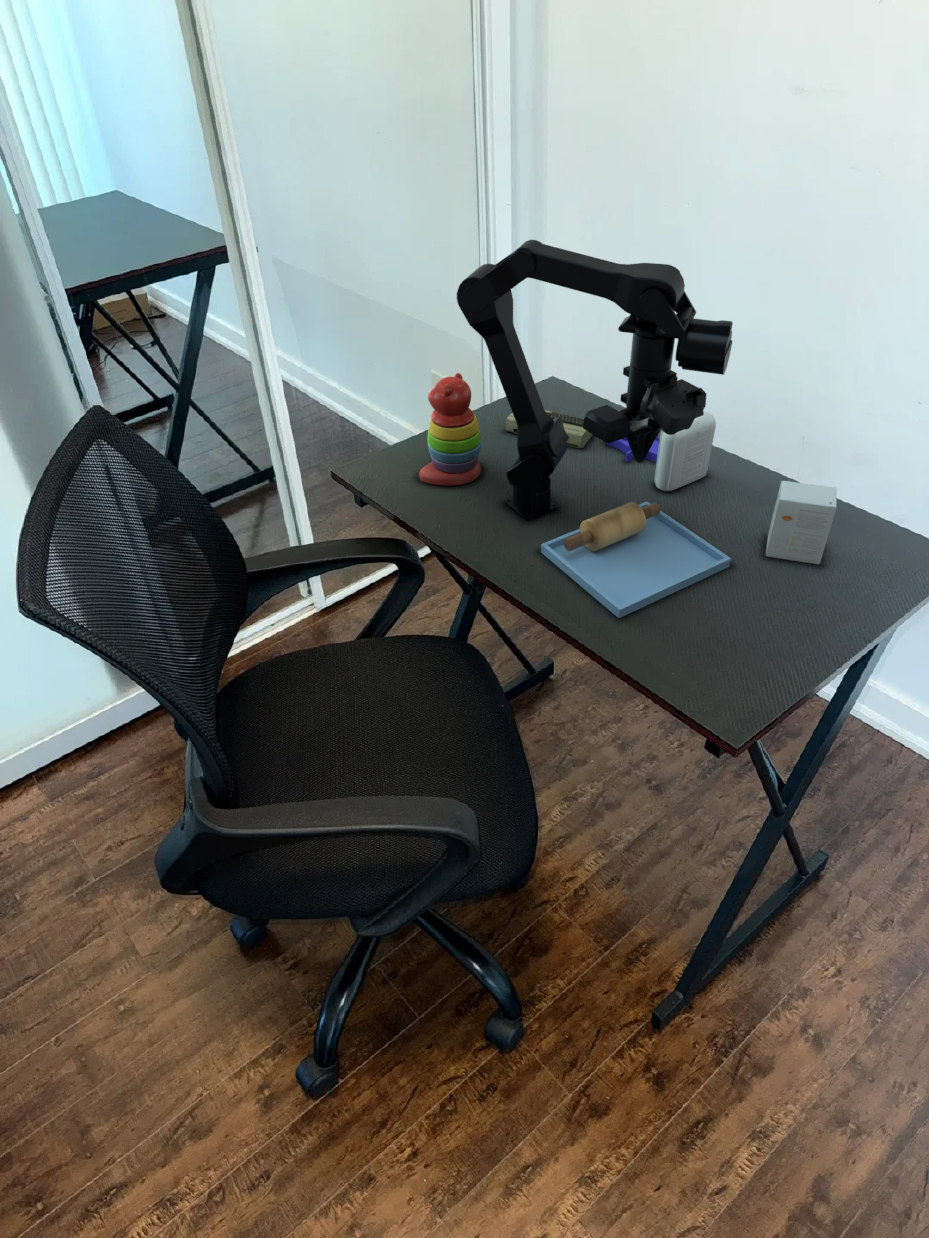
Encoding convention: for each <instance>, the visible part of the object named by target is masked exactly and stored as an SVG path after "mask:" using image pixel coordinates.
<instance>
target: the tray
mask: <svg viewBox="0 0 929 1238" xmlns="http://www.w3.org/2000/svg"><path fill="white" fill-rule="evenodd" d="M650 504H651V503H650V502H649V501H644V502H642V503H640V504H638V505H639V506H640V507H641V508H642V507H645V506H647V505H650ZM578 533H580V528H578V529H576V530H573V531H570V532H567V533H565V534H563V535H561V536H558V537H555V538H553V539H551V540H548V541H546V542H543V543H541V544H540V553H541V554H542V555H543V556H544V557H546V559H548V560H549V561H550V562H552V563H553V564H554V565H555V566H556V567H557V568H559V569H560V570H561V571H562V572H563V573H564V574H566V576H568V577H569V578H570V579H572V581H574V582H575V583H577V585H578V586H580V587H581V588H582V589H584V590H585V592H587V593H588V594H589V595H590V596H591V597H593V598H594V599H595V600H596V601H598V602H599V603H600V604H601V605H602V606H603V607H604V608H606V609H607V610H608V611H609V612H611V614H613V615H614V616H616V617H617V618H618V619H621V618H622V617H625V616H627V615H629V614H631V613H634V612H635V611H638V610H640V609H642V608H644V607H646V606H648V605H650V604H653V603H655V602H657V601H659V600H661V599H664V598H665V597H668V596H670V595H672V594H675V593H677V592H679V591H681V590H682V589H685V588H687V587H690V586H692V585H693V584H696V583H698V582H700V581H702V580H705V579H706V578H708V577H711V576H713V575H715V574H717V573H720V572H721V571H724V570H726V569H728V568H729V567H730V566H731V561H732V558H731V557H730V556H728V555H727V554H725V553H724V552H723V551H721V550H719V548H717V547H715V546H714V545H712V544H711V543H709V542H708V541H706V540H705V539H704V538H702V537H701V536H699V535H698V534H696V533H695V532H693V531H692V530H690V529H688V528H687V527H685V526H684V525H683V524H681V523H680V522H678V521H677V520H675V519H674V518H673V517H671V516H670V515H668V514H666V512H663V511H662V510H661V509H660V513H659V514H658V515H656V516H653V517H651V518H649V519H646V527H645V529H644V530H643V531H642V532H640V533H637V534H635V535H633V536H630V537H628V538H625V539H623V540H621V541H618V542H616V543H614V544H611V545H609V546H606V547H604V548H602V549H599V550H597V551H591V550H589V549H588V548H587V547H586V546H585V545H584V546H581V547H579V548H576V549H574V550H572V551H567V550H566V548H565V546H564V540H565V539H566V538H569V537H571V536H574V535H576V534H578Z"/></svg>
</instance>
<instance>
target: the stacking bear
mask: <svg viewBox="0 0 929 1238" xmlns="http://www.w3.org/2000/svg"><path fill="white" fill-rule="evenodd" d="M463 378H464V377H463V375H462V374H461V373H459V372H456V373H455V375H454V376H446V377H443V378H441V379H440V380H439V381H437V383H436V384H435V386H434V388H432V389H430V390H429V392H428V394H427V400H428V402H429V404H430V406H431V408H432V409H433V411H432V413H431V414H430V419H429V425H428V430H427V437H426V439H427V447H428V452H429V455H430V460H431V462H429V463H428V464H426V465H425V466H423V467H422V468H421V469H420V471H419V473H418V478H419V480H420V481H422V482H423V483H426V484H430V485H436V486H461V485H465V484H468V483H471V482H473V481H476V479H477V478H478V477H479V476H480V475H481V471H482V467H481V464H480V462H479V458H480V452H481V448H482V433H481V429H480V426H479V425H480V424H479V421H478V418H477V416H476V414H475V413H474V412H473V410H472V409H471V408H470V405H471V402H472V390H471V387H470V385H469V384H468V383H467V381H465V380H464V379H463Z"/></svg>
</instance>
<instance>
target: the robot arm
mask: <svg viewBox="0 0 929 1238" xmlns="http://www.w3.org/2000/svg"><path fill="white" fill-rule="evenodd" d="M527 279H533V280H536V281H540V282H545V283H547V284H550V285H551V284H552V285H556V286H559V287H563V288H566V289H570V290H574V291H578V292H581V293H585V294H589V295H592V296H596V297H598V298H603V299H606V300H608V301H610V302H613V304H615V305H616V306H618V307H619V308H620V309H621V310H622V311H624V312H625V313H627V314H628V315H627V316H626V317H624V319H623V320H622V322H621V323H620V325H619V326H618V328H617V330H618V331H619V332H620V333H626V334H627V333H628V334H632V340H631V348H630V349H631V350H630V358H629V365H628V366H624V367H622V368H623V371H622V375H623V376H625V377H627V378H628V380H627V389H626V390H627V391H626V392H624V393H621V394H620V402H621V403H623V404H624V405H625V407H624V408H621V409H618V410H617V409H615V408H614V407H612V406H610V405H609V404H605V405H602V406H599V407H596V408H592V409H589V410H588V411H587V412H585V413H584V415H583V418H584V422H583V429H585V430H586V431H588V432H589V433H591V434H593V435H592V436H594V437H596V438H598V440H600V441H601V442H603V443H605V444H606V443H612V442H615V441H618V440H621V439H622V440H623V438H625V437H626V438H627V441H628V443H629V446H630V448H631V451H632V454H633V456H634V457H633V459H634V461H635V462H637V463H638V464H642V463H644V462H645V461H646V459H645V458H646V456H647V454H648V452H649V450H650V448H651V446H652V444H653V442H654V441H655V439H656V437H657V435H658V434H659V435H660V433H661V432H662V431H663V432H664V433H666V434H668V435H673V434H676V433H677V432H679V431H682V430H684V429H686V430H687V429H689V428H690V427H691V425H692V423H693V421H694V419H695V418H697V417H700V416H703V414H704V412H703V411H705V410H704V409H705V408H706V405H707V392H705V390H704V389H703V388H702V387H699V386H696V385H695V384H692V383H691V382H689V381H686V380H684V379H683V378H681V379H679V378H678V376H677V375H678V372H676V371H674V370H672V364H673V357H674V350H675V361H677V367H681V369H682V370H685V371H691V372H692V371H693V372H699V373H707V374H714V375H722V376H724V375H725V373H726V370H727V367H728V363H729V360H730V356H731V352H732V347H733V341H734V340H732V336H733V325H734V324H733V321H732V320H711V319H702V318H695V316H696V315H697V310H696V309H695V307H694V305H693V303H692V301H691V300H690V298H689V296H688V295H687V293H686V291H685V287H686V285H685V279H684V277H683V275H682V273H681V271H680V270H679V269H678V268H677V267H676V266H674V265H671V264H666V263H654V262H640V263H639V262H638V263H637V262H636V263H629V264H628V263H627V264H626V263H619V262H618V263H617V262H613V261H609V260H606V259H602V258H598V257H594V256H591V255H587V254H583V253H579V252H575V251H571V250H567V249H564V248H560V247H556V246H553V245H549V244H545V243H542V242H541V241H539V240H538V239H528V240H526V241H525V242H523V243H522V244H521V245H520V246H519V247H518V248H516V249H515V250H514V251H512V252H511V253H510V254H508V255H507V256H505V257H504V258H503V259H501V260H500V261H498V262H497V263H496V264H495V263H484V264H482V265H480V266H479V267H478V268H476V269H475V270H474V271H472V272H471V273H470V274H469V275H468V276H467V277H466V278H465V279H464V280H462V281H461V282H460V284H459V285H458V288H457V291H456V293H455V294H456V295H455V297H456V298H455V299H456V303H457V305H458V307H459V309H460V311H461V312H462V314H463V316H464V318H465V319H466V321H467V323H468V325H469V326H470V328H472V329H473V330H474V331H475V332H476V333H477V334H478V335H479V336H481V337H482V339H483V341H484V343H485V345H486V348H487V350H488V353H489V356H490V358H491V360H492V363H493V365H494V368H495V370H496V373H497V376H498V379H499V381H500V384H501V386H502V390H503V392H504V394H505V397H506V399H507V402H508V405H509V407H510V409H511V413H513V415H514V418H515V420H516V423H517V434H516V435H517V436H516V440H517V441H516V444H517V445H516V447H517V453H518V457H517V458H516V459H515V461H514V462H513V463H512V464H511V466H510V467H509V468H508V470H507V471H506V474H505V475H506V478H507V481H508V483H509V485H511V486H512V497H511V498H508V499H506V500H505V505H507V507H509V508H510V509H511V510H513V511H514V513H516V514H517V515H519V516H520V517H521V518H522V519H523V520H525V521H528V520H529V521H530V520H532V519H534V518H537V517H540V516H542V515H545V514H547V513H550V512H553V511H555V510H557V509H558V505H557V504H556V503H555V502H553V501H552V489H551V482H552V478H550V476H551V475H552V474H553V473H554V472H555V470H556V468H557V467H558V465H559V463H560V462H561V460H562V458H563V457H565V454H566V452H567V451H568V446H567V441H568V439H569V438H570V437H569V436H568V435H567V433H566V432H565V430H564V426H563V420H562V418H561V417H557V418H555V419H553V418H551V417H550V416H549V415H548V414H547V413H546V412H545V410H546V409H545V407H544V405H543V403H542V399H541V397H540V394H539V390H538V389H537V385H536V383H535V381H534V377H533V375H532V372H531V369H530V366H529V364H528V361H527V359H526V355H525V353H524V350H523V347H522V344H521V341H520V339H519V336H518V334H517V331H516V328H515V325H514V298H513V297H514V296H513V292H512V289H513V288H515V287H516V286H517V285H519V284H520V283H522V282H523V281H524V280H527ZM676 339H677V344H676V349H675V341H676ZM659 435H658V436H659Z"/></svg>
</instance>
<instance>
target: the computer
mask: <svg viewBox="0 0 929 1238" xmlns="http://www.w3.org/2000/svg"><path fill="white" fill-rule="evenodd" d="M544 410H545V412H546V413H547V414H548V415H549V416H550V417H551V418H553V419H555V418H557V417H561V418H562V420H563V426H564V430H565V432H566V433H567V435H568V436H569V437H570V438H569V439H568V441H567V447H572V448H576V449H582V448H584V447H585V446H586V445H587V443H588V442H589V441H590V439H591V438H592V437H593V436H594V435H593V434H591V433H589V432H588V431H586V430H585V429H583V422H584V417H578V416H574V415H570V414H565V413H561V412H556V411H552V410H547V409H544ZM505 432H511V433H512V434H516V435H517V423H516V420H515V418H514V415H513V413H512V412H511V413H510V414H509V415H508V416H507V417H506V421H505Z"/></svg>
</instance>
